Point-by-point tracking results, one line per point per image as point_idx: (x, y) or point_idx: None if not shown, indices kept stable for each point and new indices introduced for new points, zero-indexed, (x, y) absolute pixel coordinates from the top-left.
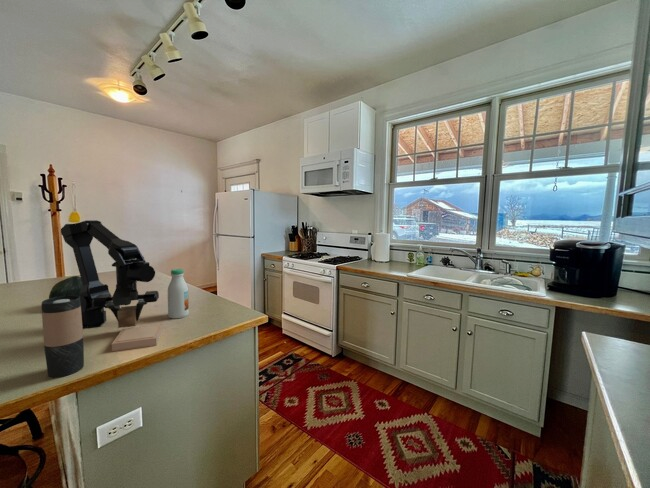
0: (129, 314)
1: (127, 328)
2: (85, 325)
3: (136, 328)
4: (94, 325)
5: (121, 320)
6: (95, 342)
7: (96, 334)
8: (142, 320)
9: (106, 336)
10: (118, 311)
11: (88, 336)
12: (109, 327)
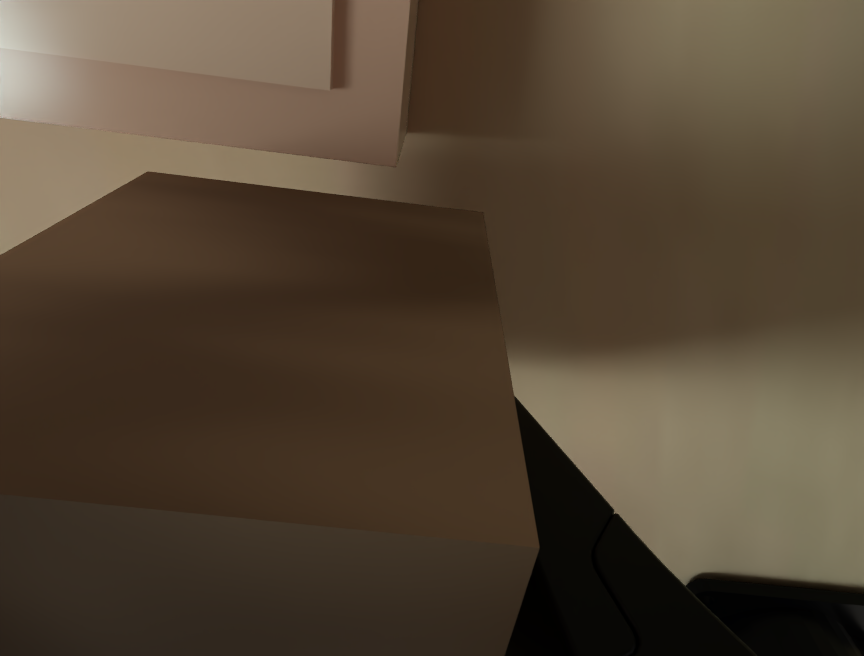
0: (87, 341)
1: (304, 151)
2: (842, 629)
3: (72, 2)
4: (756, 604)
5: (402, 273)
6: (823, 12)
7: (758, 368)
8: None
9: (645, 228)
10: (485, 529)
11: (857, 341)
12: None
